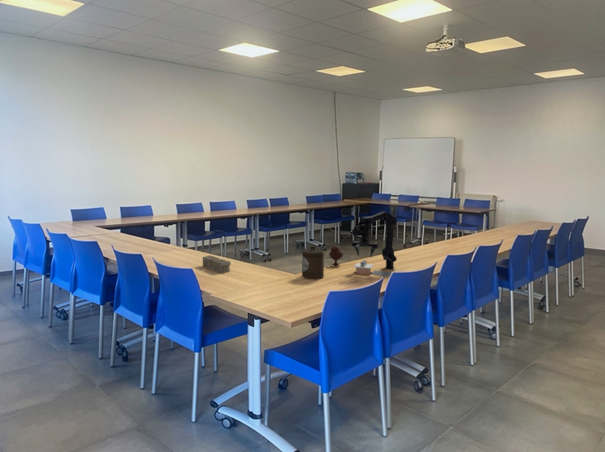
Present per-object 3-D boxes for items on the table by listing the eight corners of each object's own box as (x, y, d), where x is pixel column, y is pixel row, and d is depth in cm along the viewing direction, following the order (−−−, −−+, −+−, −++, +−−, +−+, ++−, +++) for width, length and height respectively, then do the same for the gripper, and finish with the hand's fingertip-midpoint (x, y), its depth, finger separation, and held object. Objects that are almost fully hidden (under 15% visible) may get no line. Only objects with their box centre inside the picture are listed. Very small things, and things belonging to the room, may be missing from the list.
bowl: (359, 270, 315) (359, 264, 314) (372, 272, 310) (372, 265, 309) (353, 273, 307) (353, 266, 306) (366, 275, 301) (366, 268, 301)
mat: (374, 270, 315) (374, 270, 315) (393, 273, 309) (393, 272, 309) (369, 275, 302) (369, 274, 302) (389, 277, 297) (389, 276, 296)
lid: (357, 263, 315) (357, 259, 315) (373, 265, 311) (373, 260, 310) (353, 267, 304) (353, 262, 304) (369, 268, 300) (370, 263, 299)
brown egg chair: (342, 267, 326) (342, 247, 324) (327, 266, 328) (328, 246, 326) (343, 264, 336) (344, 245, 334) (329, 263, 338) (329, 244, 336)
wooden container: (301, 274, 301) (301, 243, 298) (322, 274, 303) (322, 243, 300) (302, 279, 287) (303, 247, 284) (325, 279, 288) (325, 247, 285)
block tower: (201, 267, 321) (220, 274, 299) (201, 256, 320) (220, 262, 298) (211, 266, 326) (230, 272, 304) (211, 255, 325) (230, 260, 303)
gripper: (349, 235, 301) (348, 257, 303) (375, 237, 294) (374, 260, 296) (354, 233, 312) (353, 254, 314) (379, 235, 304) (378, 257, 306)
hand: (364, 256), depth 307 cm, fingers open, 9 cm apart
